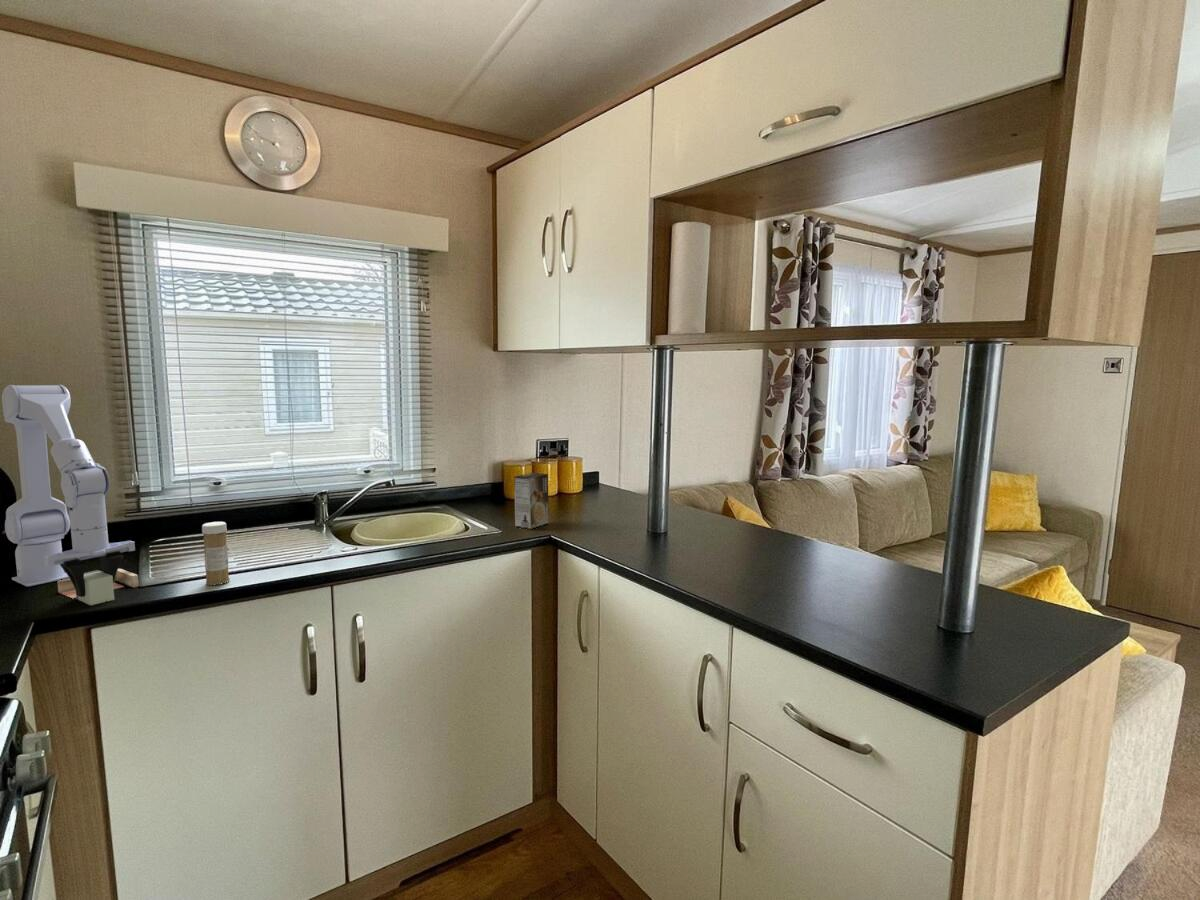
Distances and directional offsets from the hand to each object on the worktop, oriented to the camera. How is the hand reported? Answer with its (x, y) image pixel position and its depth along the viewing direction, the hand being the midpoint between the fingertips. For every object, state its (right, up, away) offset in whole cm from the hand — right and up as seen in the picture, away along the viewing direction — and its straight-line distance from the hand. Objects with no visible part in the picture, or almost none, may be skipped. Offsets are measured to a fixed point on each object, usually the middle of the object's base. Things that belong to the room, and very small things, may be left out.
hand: (94, 592), depth 129 cm
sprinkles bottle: (+19, -1, +11) cm, 22 cm away
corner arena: (-4, -1, +6) cm, 8 cm away
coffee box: (+82, +5, +66) cm, 106 cm away
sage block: (0, -1, 0) cm, 1 cm away
